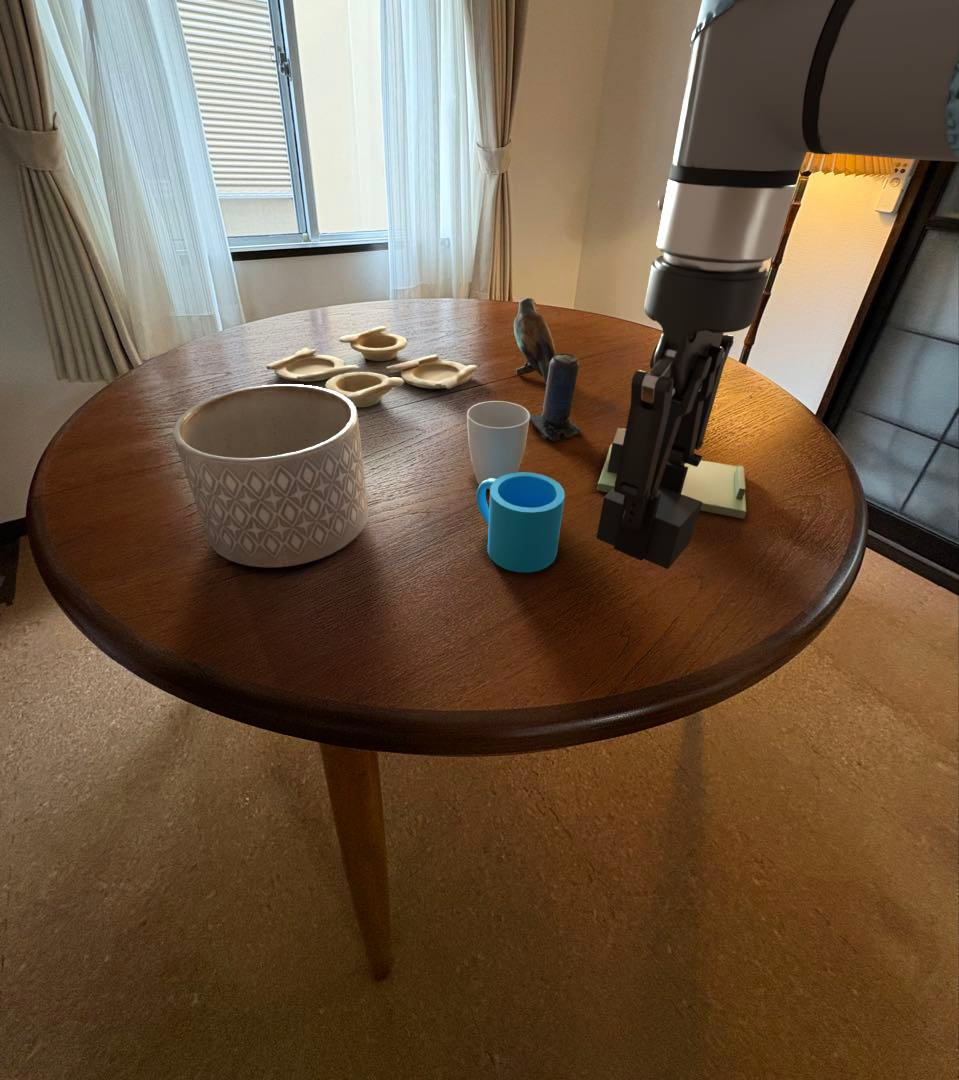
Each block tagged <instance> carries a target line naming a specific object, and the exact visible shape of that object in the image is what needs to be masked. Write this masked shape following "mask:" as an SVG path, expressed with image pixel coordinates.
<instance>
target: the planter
mask: <svg viewBox="0 0 959 1080" xmlns="http://www.w3.org/2000/svg"><path fill="white" fill-rule="evenodd" d="M172 438H173V441H174V444H175V446H176V451H177V452H178V453H177V454H178V455H179V459H180V462H181V464H182V468H183V471H184V474H185V476H186V479H187V483H188V485H189V488H190V491H191V494H192V497H193V501H194V503H195V506H196V509H197V511H198V515H199V518H200V521H201V524H202V527H203V530H204V532H205V535H206V538H207V541H208V544H209V546H211V548H212V550H213V551H215V553H217V554H218V555H219V556H221V557H223V558H225V559H226V560H228V561H230V562H233V563H236V564H239V565H242V566H243V565H244V566H249V567H254V568H255V567H256V568H283V567H292V566H293V567H294V566H298V565H303V564H308V563H310V562H314V561H317V560H320V559H323V558H325V557H327V556H330V555H332V554H334V553H336V552H338V551H339V550H342V549H343V548H345V547H346V546H347V545H349V544H350V543H351V542H352V541H354V540H355V539H356V538H357V537H358V536H359V535H360V533H361V532H362V531H363V530H364V529H365V526H366V524H367V522H368V519H369V514H370V512H369V504H368V495H367V485H366V484H367V483H366V477H365V469H364V459H363V451H362V450H363V449H362V441H361V432H360V424H359V415H358V410H357V407H355V405H354V404H353V403H352V402H351V401H350V400H349V399H347V398H346V397H345V396H343V395H341V394H339V393H337V392H334V391H331V390H328V389H326V388H325V387H324V388H323V387H319V386H314V385H313V386H312V385H304V384H267V385H258V386H252V387H251V386H250V387H244V388H240V389H236V390H231V391H228V392H225V393H221V394H218V395H215V396H212V397H210V398H207V399H205V400H203V401H201V402H198V403H197V404H195V405H193V406H192V407H190V408H189V409H187V410H186V411H185V412H183V414H181V415H180V417H178V418H177V420H176V421H175V423H174V425H173V427H172Z"/></svg>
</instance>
